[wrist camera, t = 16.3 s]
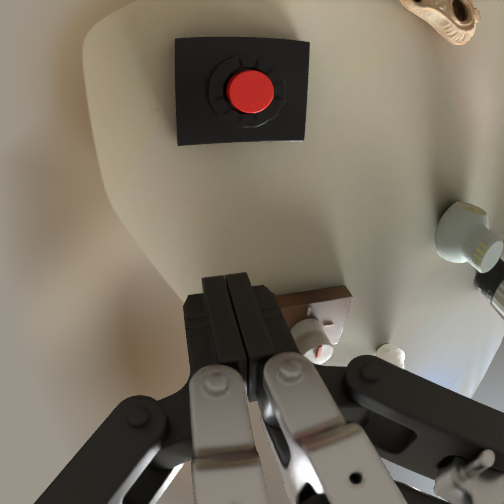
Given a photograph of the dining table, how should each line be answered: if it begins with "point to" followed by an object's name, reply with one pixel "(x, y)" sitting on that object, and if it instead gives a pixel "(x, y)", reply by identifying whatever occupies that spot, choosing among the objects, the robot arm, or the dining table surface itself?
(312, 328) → the dimmer knob
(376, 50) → the dining table surface
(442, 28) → the pottery oil lamp
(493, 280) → the milk frother
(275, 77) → the switch block
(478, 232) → the air freshener
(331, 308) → the dimmer panel
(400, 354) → the muffin
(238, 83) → the light button
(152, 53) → the dining table surface
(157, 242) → the dining table surface
